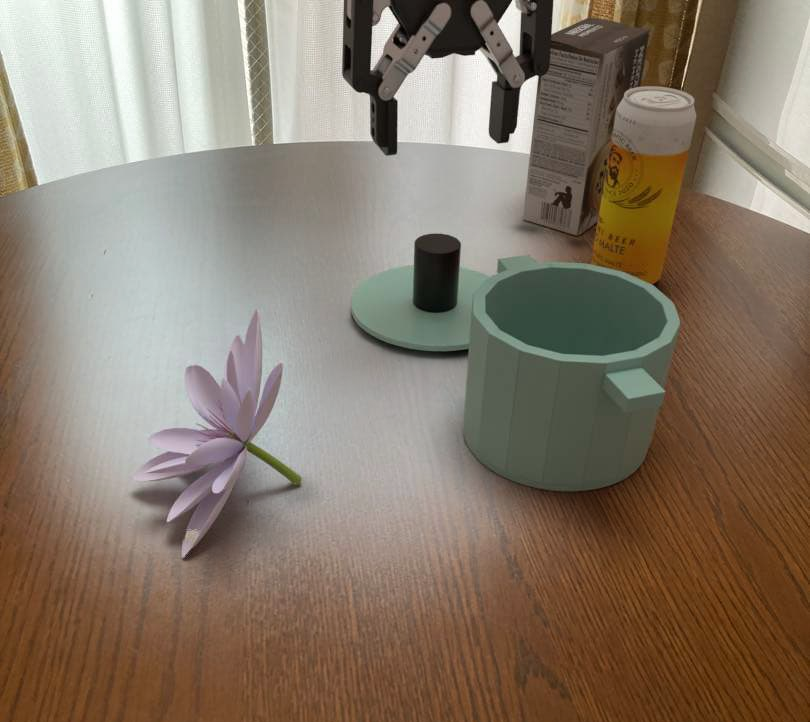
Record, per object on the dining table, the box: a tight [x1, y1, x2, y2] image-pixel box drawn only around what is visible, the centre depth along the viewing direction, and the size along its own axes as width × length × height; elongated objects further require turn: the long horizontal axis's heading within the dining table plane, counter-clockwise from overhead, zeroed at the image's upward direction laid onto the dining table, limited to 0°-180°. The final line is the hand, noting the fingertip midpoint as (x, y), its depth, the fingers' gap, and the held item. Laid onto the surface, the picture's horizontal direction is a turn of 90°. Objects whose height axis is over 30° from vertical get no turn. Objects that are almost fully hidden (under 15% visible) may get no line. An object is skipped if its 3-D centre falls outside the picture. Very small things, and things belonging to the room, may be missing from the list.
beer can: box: [590, 85, 697, 285], centre depth 75 cm, size 6×6×15 cm
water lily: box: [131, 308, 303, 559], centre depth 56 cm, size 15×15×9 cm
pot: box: [462, 254, 681, 492], centre depth 60 cm, size 13×18×10 cm
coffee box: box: [522, 17, 651, 237], centre depth 85 cm, size 9×6×16 cm
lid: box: [350, 232, 492, 352], centre depth 73 cm, size 14×14×6 cm
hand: (444, 145), depth 66 cm, fingers open, 8 cm apart
